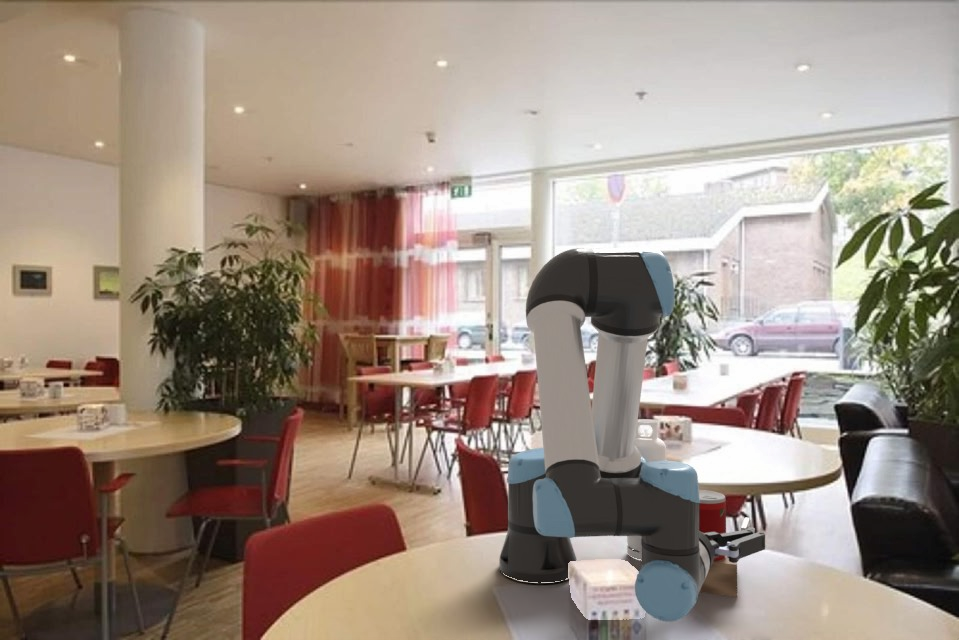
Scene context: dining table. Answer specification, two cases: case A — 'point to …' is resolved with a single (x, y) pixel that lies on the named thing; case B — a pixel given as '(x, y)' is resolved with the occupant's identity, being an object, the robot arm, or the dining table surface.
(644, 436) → the bottle
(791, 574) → the dining table surface
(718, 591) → the walnut box
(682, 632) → the dining table surface
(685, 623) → the dining table surface
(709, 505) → the canned food
